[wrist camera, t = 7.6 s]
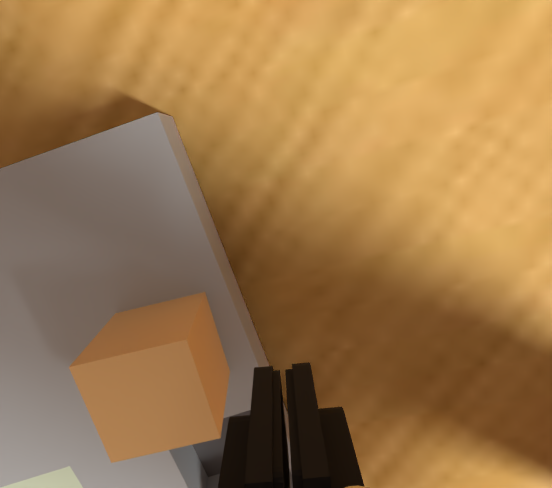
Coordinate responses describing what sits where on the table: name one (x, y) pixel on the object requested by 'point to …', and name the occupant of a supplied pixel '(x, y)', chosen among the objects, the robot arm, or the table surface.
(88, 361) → the block
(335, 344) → the table surface
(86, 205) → the grey sorting tray
